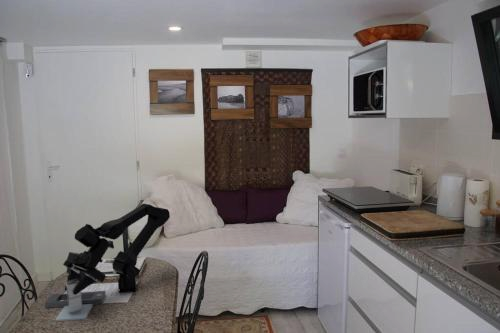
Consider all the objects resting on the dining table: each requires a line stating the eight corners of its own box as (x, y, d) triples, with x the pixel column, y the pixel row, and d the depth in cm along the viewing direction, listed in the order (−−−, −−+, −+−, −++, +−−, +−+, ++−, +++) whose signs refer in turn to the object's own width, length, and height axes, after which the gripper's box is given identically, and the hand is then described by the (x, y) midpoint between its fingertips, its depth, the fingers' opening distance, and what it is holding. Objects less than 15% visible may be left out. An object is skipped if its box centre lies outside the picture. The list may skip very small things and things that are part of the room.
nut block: (79, 304, 142) (77, 278, 141) (82, 308, 139) (80, 282, 137) (67, 307, 140) (65, 281, 138) (69, 312, 136) (67, 285, 135)
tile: (93, 305, 145) (92, 303, 145) (85, 319, 135) (85, 317, 135) (64, 307, 144) (64, 305, 143) (55, 321, 134) (55, 319, 134)
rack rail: (105, 295, 153) (105, 290, 152) (101, 304, 146) (101, 298, 146) (52, 299, 150) (51, 294, 150) (45, 308, 143) (44, 302, 143)
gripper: (66, 238, 144) (38, 276, 137) (95, 247, 134) (68, 289, 126) (86, 252, 152) (61, 289, 144) (116, 262, 141) (91, 302, 134)
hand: (69, 292), depth 137 cm, fingers closed on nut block, 5 cm apart
